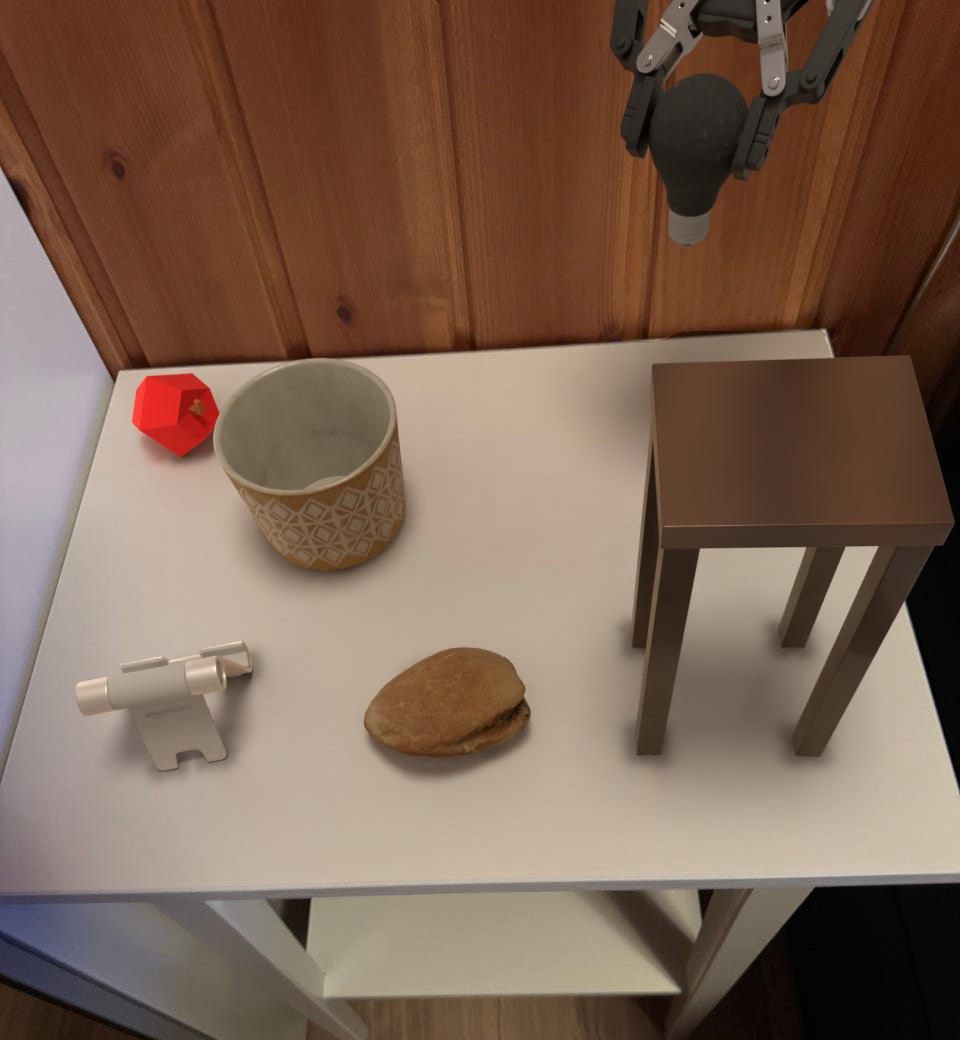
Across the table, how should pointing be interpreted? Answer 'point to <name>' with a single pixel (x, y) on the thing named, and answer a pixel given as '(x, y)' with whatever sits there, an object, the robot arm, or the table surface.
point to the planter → (316, 460)
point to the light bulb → (695, 148)
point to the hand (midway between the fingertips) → (686, 163)
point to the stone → (450, 705)
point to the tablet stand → (169, 699)
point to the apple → (175, 411)
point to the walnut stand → (785, 507)
